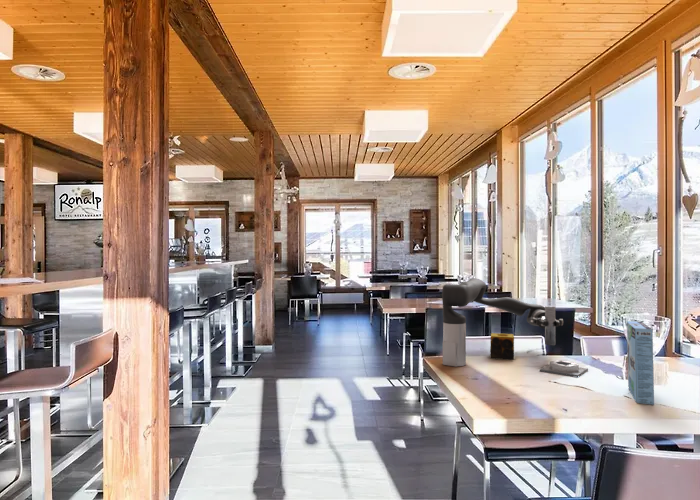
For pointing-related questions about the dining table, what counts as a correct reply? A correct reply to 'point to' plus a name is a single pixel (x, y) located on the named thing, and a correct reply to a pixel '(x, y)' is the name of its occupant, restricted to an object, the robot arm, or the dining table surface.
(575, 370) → the collar
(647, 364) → the blue cardboard box
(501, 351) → the brown textured cube
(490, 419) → the dining table surface
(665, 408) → the dining table surface
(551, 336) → the pin
